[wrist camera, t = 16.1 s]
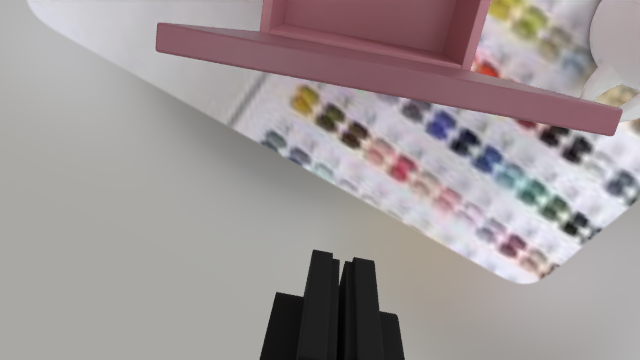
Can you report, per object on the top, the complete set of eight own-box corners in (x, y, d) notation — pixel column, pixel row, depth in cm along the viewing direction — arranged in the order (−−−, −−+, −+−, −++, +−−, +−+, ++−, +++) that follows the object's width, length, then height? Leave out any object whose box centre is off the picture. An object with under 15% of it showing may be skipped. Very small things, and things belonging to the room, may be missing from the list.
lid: (156, 21, 13) (154, 51, 13) (625, 109, 13) (615, 137, 13) (258, 31, 28) (256, 45, 28) (472, 71, 28) (468, 84, 28)
